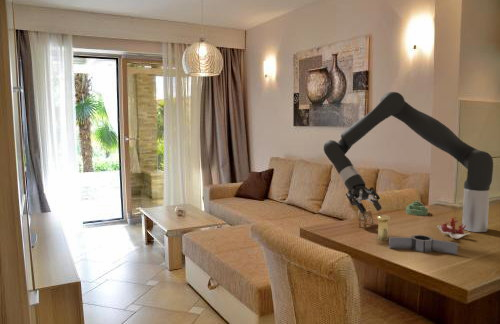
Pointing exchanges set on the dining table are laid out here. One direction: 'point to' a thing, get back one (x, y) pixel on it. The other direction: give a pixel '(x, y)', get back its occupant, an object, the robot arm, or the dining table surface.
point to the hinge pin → (383, 227)
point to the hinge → (423, 244)
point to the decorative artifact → (416, 209)
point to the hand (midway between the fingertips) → (372, 211)
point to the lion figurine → (364, 217)
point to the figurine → (453, 229)
